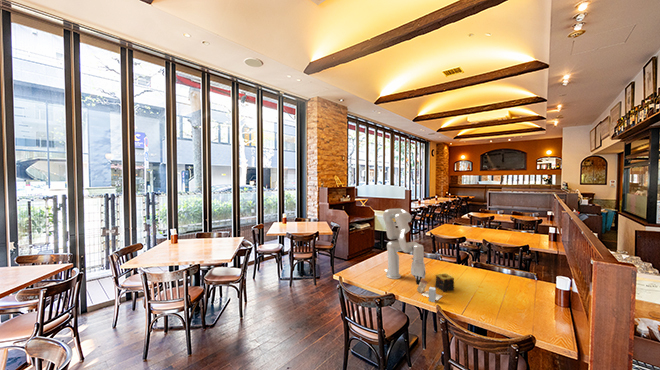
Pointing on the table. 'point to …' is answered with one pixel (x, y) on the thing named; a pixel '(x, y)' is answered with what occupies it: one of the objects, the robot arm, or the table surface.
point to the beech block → (422, 286)
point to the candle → (444, 282)
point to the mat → (428, 295)
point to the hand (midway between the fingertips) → (418, 284)
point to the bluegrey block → (432, 294)
